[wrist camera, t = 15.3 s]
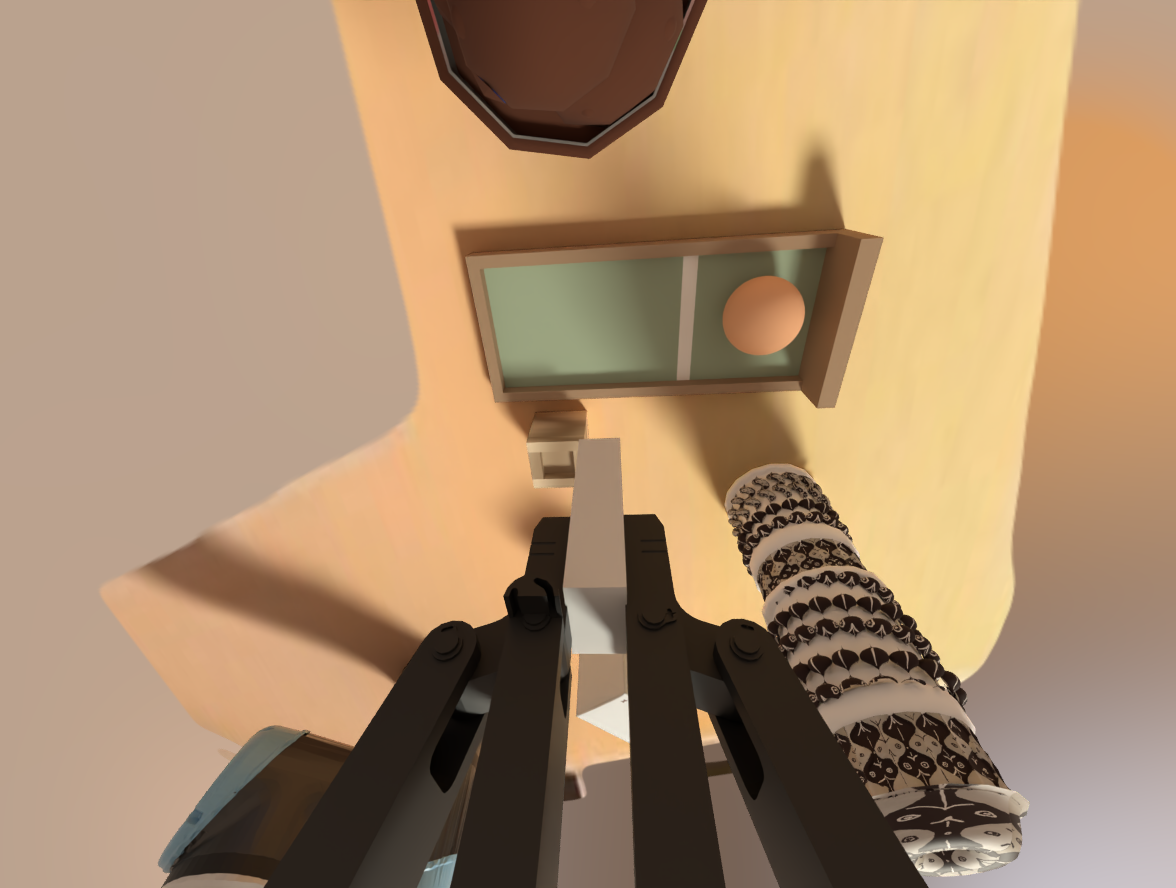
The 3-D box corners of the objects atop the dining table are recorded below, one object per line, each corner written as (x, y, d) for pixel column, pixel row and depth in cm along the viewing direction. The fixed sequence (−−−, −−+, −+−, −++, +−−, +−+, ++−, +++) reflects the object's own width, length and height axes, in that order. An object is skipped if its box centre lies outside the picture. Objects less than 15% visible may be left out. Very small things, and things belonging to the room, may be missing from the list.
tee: (541, 454, 38) (534, 488, 34) (535, 412, 36) (526, 442, 32) (589, 453, 38) (587, 486, 34) (586, 410, 35) (584, 440, 31)
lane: (499, 393, 35) (486, 420, 31) (471, 253, 29) (451, 264, 25) (808, 381, 33) (834, 407, 29) (845, 228, 27) (883, 237, 24)
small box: (581, 595, 49) (573, 717, 38) (621, 570, 46) (625, 693, 35) (628, 626, 52) (633, 748, 41) (668, 604, 49) (685, 728, 38)
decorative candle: (769, 442, 36) (991, 807, 15) (842, 488, 39) (1120, 860, 18) (700, 507, 41) (798, 862, 20) (769, 546, 43) (923, 898, 22)
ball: (741, 342, 32) (701, 350, 29) (756, 271, 30) (714, 272, 27) (806, 358, 28) (768, 368, 25) (829, 279, 26) (790, 280, 23)
